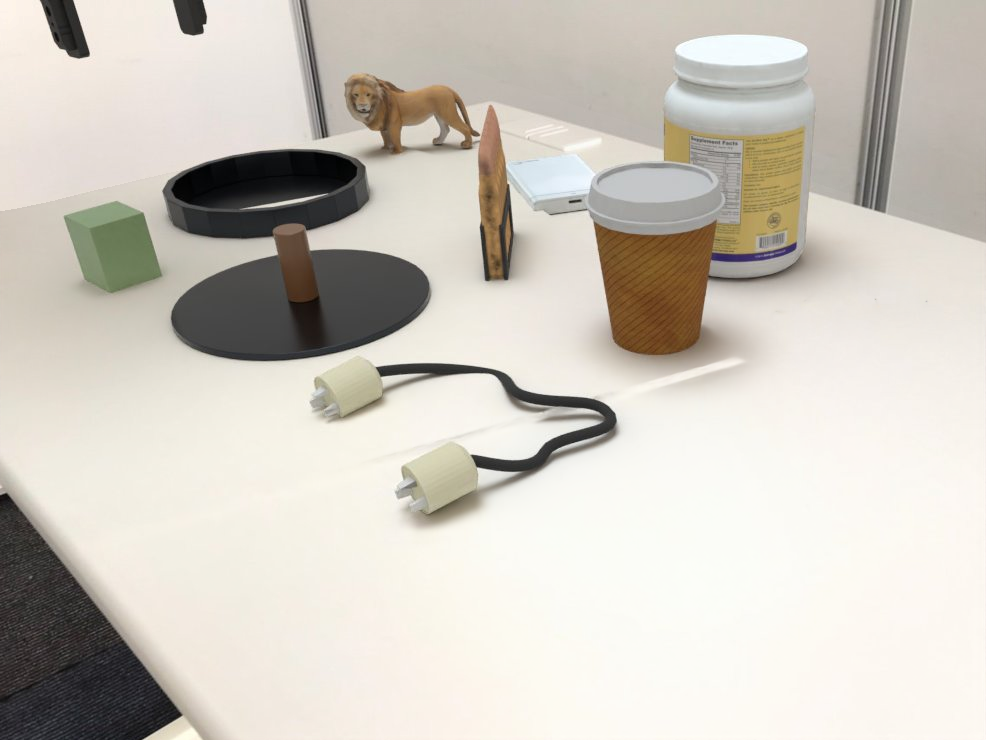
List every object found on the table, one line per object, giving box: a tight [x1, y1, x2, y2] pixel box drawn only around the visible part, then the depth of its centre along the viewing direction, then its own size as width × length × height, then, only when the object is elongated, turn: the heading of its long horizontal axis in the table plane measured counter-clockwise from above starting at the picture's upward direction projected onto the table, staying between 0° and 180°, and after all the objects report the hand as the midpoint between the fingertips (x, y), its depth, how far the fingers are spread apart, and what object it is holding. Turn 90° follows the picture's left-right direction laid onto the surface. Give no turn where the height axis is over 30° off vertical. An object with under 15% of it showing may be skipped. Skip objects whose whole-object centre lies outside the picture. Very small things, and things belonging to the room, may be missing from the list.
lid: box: [170, 224, 431, 361], centre depth 80 cm, size 20×20×7 cm
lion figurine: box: [343, 72, 481, 156], centre depth 114 cm, size 15×5×9 cm, turn 121°
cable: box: [308, 355, 618, 515], centre depth 66 cm, size 16×16×4 cm
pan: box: [161, 148, 370, 240], centre depth 101 cm, size 19×19×3 cm
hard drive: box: [506, 153, 598, 215], centre depth 104 cm, size 2×8×12 cm
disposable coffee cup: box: [585, 160, 725, 356], centre depth 73 cm, size 10×10×12 cm
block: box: [63, 200, 163, 294], centre depth 85 cm, size 4×4×6 cm
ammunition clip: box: [477, 104, 515, 282], centre depth 86 cm, size 11×2×12 cm, turn 3°
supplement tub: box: [662, 34, 817, 279], centre depth 85 cm, size 12×12×17 cm
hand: (138, 45), depth 74 cm, fingers open, 8 cm apart
